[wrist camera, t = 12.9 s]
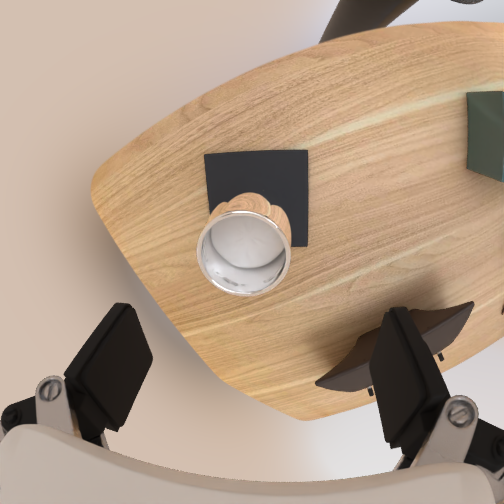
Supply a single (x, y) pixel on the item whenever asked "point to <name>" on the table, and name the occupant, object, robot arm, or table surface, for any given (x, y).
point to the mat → (267, 165)
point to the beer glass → (247, 239)
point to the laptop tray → (357, 361)
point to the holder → (486, 133)
